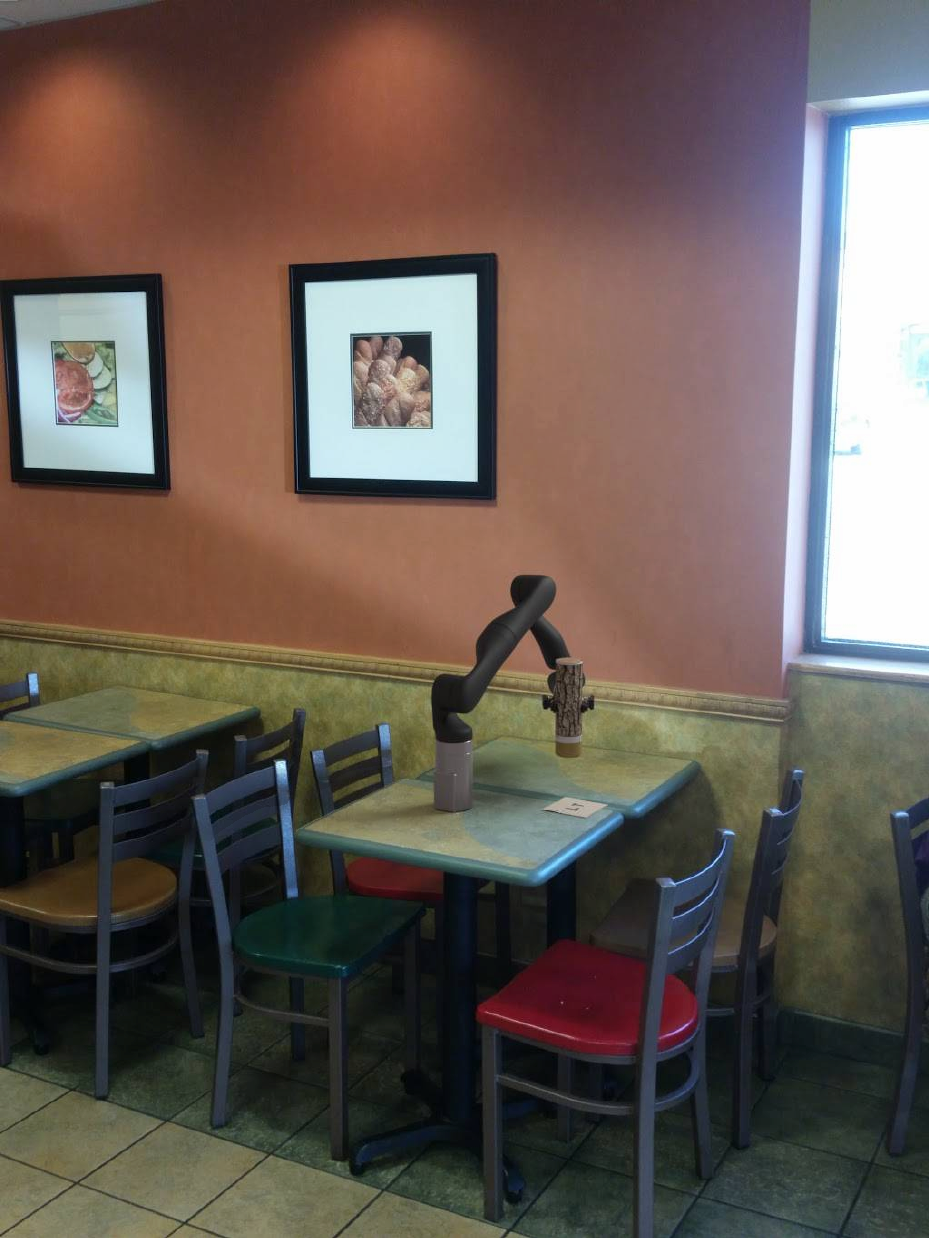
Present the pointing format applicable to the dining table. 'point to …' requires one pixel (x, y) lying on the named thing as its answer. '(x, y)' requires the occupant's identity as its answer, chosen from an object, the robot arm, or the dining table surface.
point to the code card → (575, 807)
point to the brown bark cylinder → (569, 707)
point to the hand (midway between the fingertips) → (569, 709)
